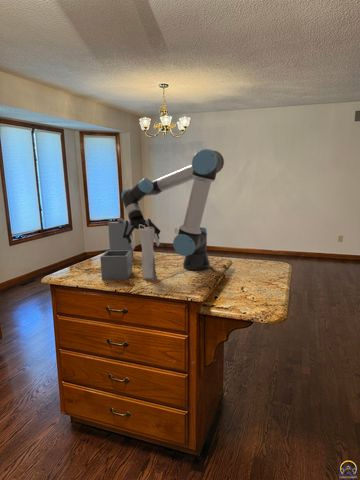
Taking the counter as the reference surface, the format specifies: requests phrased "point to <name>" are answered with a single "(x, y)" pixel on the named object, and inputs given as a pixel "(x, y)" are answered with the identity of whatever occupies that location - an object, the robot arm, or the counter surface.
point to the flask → (119, 236)
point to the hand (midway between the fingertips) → (146, 246)
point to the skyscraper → (148, 253)
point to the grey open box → (116, 264)
